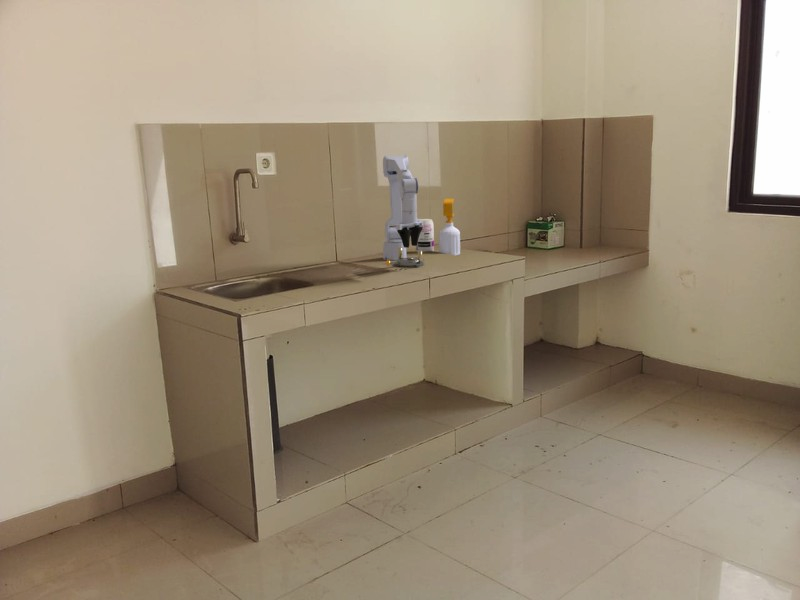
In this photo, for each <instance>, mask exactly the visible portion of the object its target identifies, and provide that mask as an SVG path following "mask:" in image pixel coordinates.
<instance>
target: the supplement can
mask: <svg viewBox="0 0 800 600" xmlns="http://www.w3.org/2000/svg"><path fill="white" fill-rule="evenodd" d="M418 220H423V226H419V227H422V231H421V233H420V235H419V239H418V243H417V246H415V251H416V253H418V252H419V251H422V253H423V252H434V251H435V231H434V229H435V228H434V227H435V226H434V221H433V219H432V218H417V221H418Z"/></svg>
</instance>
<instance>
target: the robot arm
mask: <svg viewBox="0 0 800 600" xmlns="http://www.w3.org/2000/svg"><path fill="white" fill-rule="evenodd" d="M409 163H410V161H409V157H408V155H407V154H405V155H389V156H388V155H384V156H383V158H382V170H383V171H382V173H383V176H384V177H385V178H387V179H388V183H389V185H388V186H389V200H390V201H389V202H390V218H389V219H388V220H386V221H385V223H384V238H385V241H384V242H383V245H382V255H383V260H384V261H387V260H390V261H397V259H399V255H398V248H402V257H403V258H407V255H408V254H407V249H409V248H410V244H411V247H412V246H413V247H416V246H417V243H418V239H419V235H420V233H421V231H422V227H419V226H423V220H418V221H417V219H418V207H417V206H418V202H417V201H418V200H417V194H418V192H419V181H418V179H417V177H413V175H412V172H411V171H410V170H409V166H410V164H409ZM410 241H411V242H410Z"/></svg>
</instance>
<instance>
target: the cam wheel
mask: <svg viewBox="0 0 800 600" xmlns="http://www.w3.org/2000/svg"><path fill="white" fill-rule="evenodd" d="M398 255H399V259H397V260H396V261H392V260H385V265H386V266H391V265H392V266H394V265H396V266H397V267H401V268H417V267H422V266H424V265H425V259H424V257H423V252H422V251H419V252H417V257H415V256H414V257H413V256H409V257H407V258H403V257H402V248H398Z"/></svg>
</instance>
